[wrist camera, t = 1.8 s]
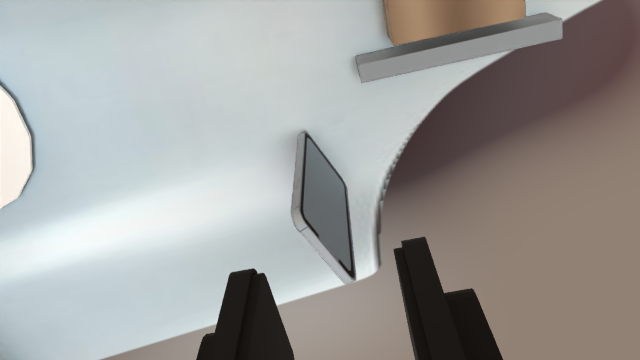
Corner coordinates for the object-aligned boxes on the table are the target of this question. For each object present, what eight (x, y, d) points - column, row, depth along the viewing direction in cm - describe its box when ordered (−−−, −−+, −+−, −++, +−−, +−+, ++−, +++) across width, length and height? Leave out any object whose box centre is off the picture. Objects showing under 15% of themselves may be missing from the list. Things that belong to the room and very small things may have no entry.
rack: (545, -89, 37) (563, -90, 34) (546, 30, 41) (562, 38, 38) (337, -37, 38) (338, -34, 36) (358, 72, 42) (361, 83, 40)
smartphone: (347, 184, 48) (357, 287, 35) (339, 189, 48) (346, 292, 35) (303, 127, 45) (297, 214, 32) (295, 132, 45) (285, 221, 32)
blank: (506, -43, 38) (524, -40, 35) (507, 9, 40) (525, 17, 37) (380, -15, 39) (386, -9, 36) (387, 34, 41) (393, 45, 38)
